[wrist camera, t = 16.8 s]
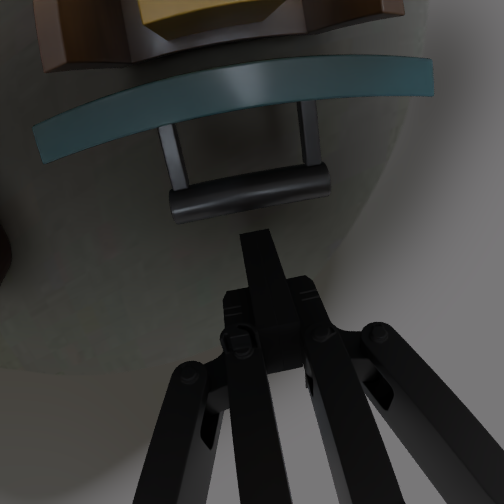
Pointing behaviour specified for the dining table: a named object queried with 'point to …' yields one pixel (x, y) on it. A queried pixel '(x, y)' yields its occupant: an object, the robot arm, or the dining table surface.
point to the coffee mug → (4, 254)
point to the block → (201, 15)
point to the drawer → (215, 90)
